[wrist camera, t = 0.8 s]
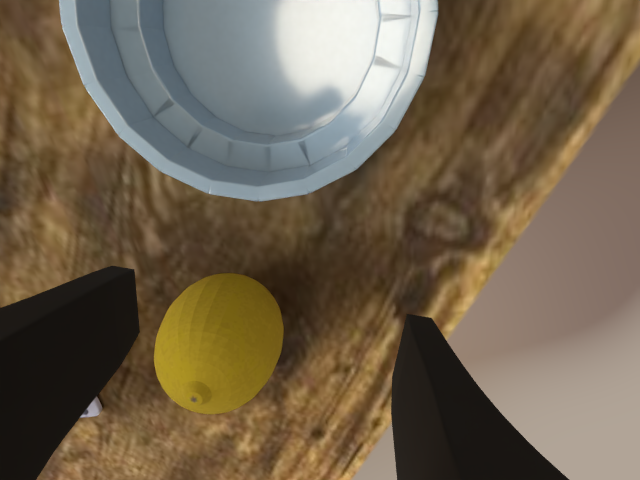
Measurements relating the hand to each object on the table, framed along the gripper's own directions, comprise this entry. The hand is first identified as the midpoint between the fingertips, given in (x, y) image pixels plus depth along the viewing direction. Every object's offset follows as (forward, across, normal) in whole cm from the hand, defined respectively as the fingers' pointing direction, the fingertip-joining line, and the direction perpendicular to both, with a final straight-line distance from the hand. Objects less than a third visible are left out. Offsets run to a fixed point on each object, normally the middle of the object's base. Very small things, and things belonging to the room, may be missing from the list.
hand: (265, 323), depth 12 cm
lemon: (+11, +4, +6) cm, 13 cm away
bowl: (+11, +3, -7) cm, 13 cm away
